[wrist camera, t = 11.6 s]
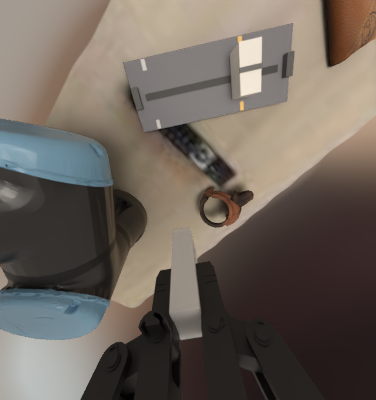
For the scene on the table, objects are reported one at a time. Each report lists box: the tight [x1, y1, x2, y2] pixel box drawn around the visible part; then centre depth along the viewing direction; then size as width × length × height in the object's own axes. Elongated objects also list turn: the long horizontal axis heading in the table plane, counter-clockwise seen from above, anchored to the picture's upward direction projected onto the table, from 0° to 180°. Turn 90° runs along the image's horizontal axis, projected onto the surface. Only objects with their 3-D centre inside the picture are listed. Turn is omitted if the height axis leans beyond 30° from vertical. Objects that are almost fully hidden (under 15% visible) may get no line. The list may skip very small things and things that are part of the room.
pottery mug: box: [199, 187, 254, 228], centre depth 35 cm, size 12×10×8 cm
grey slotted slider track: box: [123, 23, 294, 132], centre depth 26 cm, size 26×10×3 cm, turn 101°
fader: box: [230, 37, 262, 100], centre depth 23 cm, size 3×6×4 cm, turn 11°
